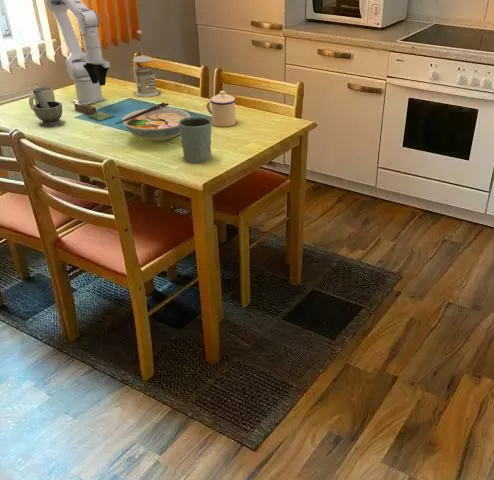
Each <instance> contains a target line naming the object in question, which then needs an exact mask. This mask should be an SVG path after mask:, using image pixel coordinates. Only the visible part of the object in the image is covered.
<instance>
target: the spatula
mask: <svg viewBox="0 0 494 480" xmlns="http://www.w3.org/2000/svg"><path fill="white" fill-rule="evenodd" d="M73 107H74V110H75V111H77V112H79V113H83V114H85V115H88V118H89V119H92V120H96V121H98V122H103V121H105V120H108V119H111V118H114V115H113V114H109V113H106V112H103V111H100V112H98V111H97V107H95V106H93V105H90V104H88V105H86V104H83V103H80V102H74V103H73Z"/></svg>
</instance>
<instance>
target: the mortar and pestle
mask: <svg viewBox="0 0 494 480" xmlns="http://www.w3.org/2000/svg"><path fill="white" fill-rule="evenodd" d="M33 93H34V94H35V95H36V98H37V100H38V102H39V103H38V104H35V103H34V111H35V112H34V111H33V112H34V113H35V114H34V115H35V116H36V117H37V118H38V120H40V121H42V126H44V127H49V128H52V127H57V126H59V125H61V120H60V119H61V118H62V115H63V104H62V102H60V101H56V100H55V101H47V102H46V100H45V98H44V96H43V95H42V93H41V89H35V90H34V91H32V94H33Z"/></svg>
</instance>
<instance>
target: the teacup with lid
mask: <svg viewBox="0 0 494 480" xmlns="http://www.w3.org/2000/svg"><path fill="white" fill-rule="evenodd" d="M210 106H211V107H210ZM206 110H207V112H208V113H209V114H210V115H211V122H212V125H214V126H215V127H221V128H225V127H226V128H227V127H232V126H234V125H236V123H237V118H236V97H235V96H233V95H230V94H228V93H226V91H225V90H220V91H219V93H217V94H216V95H214V96H212V97H211V98H210V99H209V101H207V102H206Z"/></svg>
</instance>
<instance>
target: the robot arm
mask: <svg viewBox="0 0 494 480" xmlns="http://www.w3.org/2000/svg"><path fill="white" fill-rule="evenodd" d="M43 1H44V4H45V6H46V8H47V10H48V11H50V12H52V14H53V16H54V19H55V21H56V24H57V26H58V29H59V31H60V34H61V36H62V40H63V41H64V44H65V47H66V48H67V51H68V54H69V56H68V57H67V58H66V59H65V66H66V71H67V76H68V77H69V78H70V79H71V80H72V81H73V82H74V88H75V93H76V99H73V102H74V103H77V102H80V103H83V104H86V105H92V104H94V103H95V104H96V103H97V102H101V101H104V100H105V98H103V91H102V87H103V86H106V82H107V80H106V79H107V74H108V70H109V69H110V67H111V64H110V61H109V60H106V59H105V58H104V57H103V53H102V45H101V39H100V34H99V27H100V23H101V22H100V17H99V14H98V13H97V11H96V10H95V9H90V8H88V7H87V5H86V4H84V3H83V1H81V0H43ZM68 11H69V13H70V14H71V15H72V17H74V18H75V19H76V22H77V25H78V27H79V32H80V34H81V35H82V40H83V46H84V51H83V50H82V48H81V46H80V43H79V40H78V38H77V35H76V32H75V30H74V27H73V24H72V22H71V20H70V16H69V14H68Z"/></svg>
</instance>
